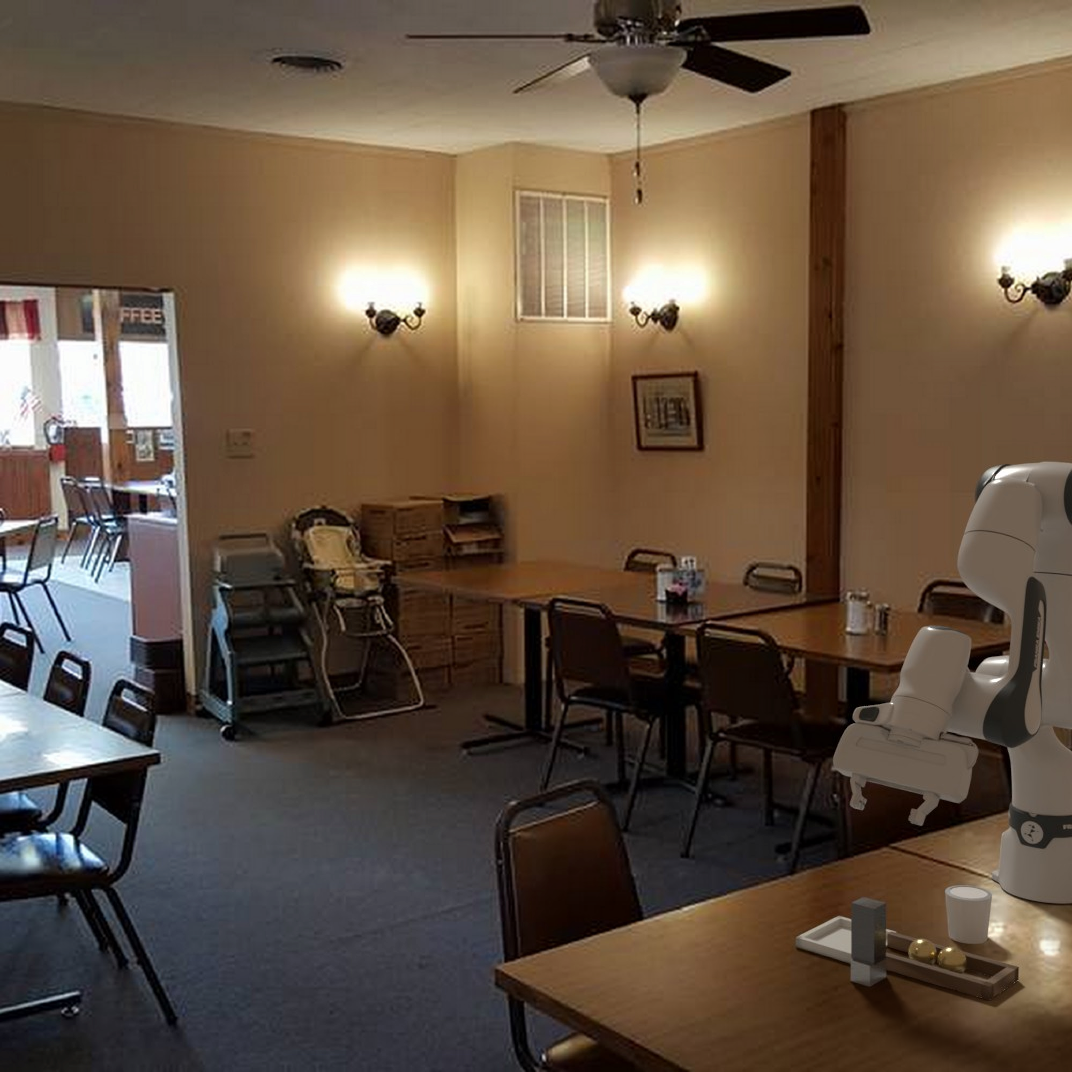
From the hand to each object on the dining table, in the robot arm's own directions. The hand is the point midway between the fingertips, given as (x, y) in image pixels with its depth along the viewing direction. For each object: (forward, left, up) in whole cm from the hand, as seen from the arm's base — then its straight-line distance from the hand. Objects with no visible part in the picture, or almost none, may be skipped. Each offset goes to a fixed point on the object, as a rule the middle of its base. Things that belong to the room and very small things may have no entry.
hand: (885, 815), depth 188 cm
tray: (-3, -8, -22) cm, 24 cm away
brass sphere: (-3, +9, -22) cm, 24 cm away
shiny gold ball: (-3, +4, -22) cm, 23 cm away
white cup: (-18, +4, -22) cm, 29 cm away
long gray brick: (+6, +1, -22) cm, 23 cm away
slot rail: (-3, +7, -22) cm, 23 cm away
